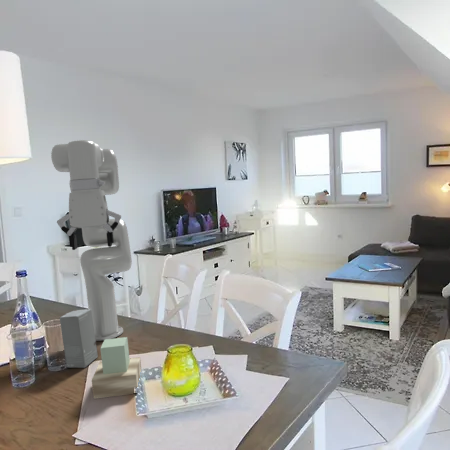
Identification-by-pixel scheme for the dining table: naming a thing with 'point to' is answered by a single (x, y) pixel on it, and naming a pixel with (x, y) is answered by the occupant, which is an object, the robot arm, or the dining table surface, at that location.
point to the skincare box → (78, 338)
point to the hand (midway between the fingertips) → (92, 247)
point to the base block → (116, 380)
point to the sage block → (115, 355)
